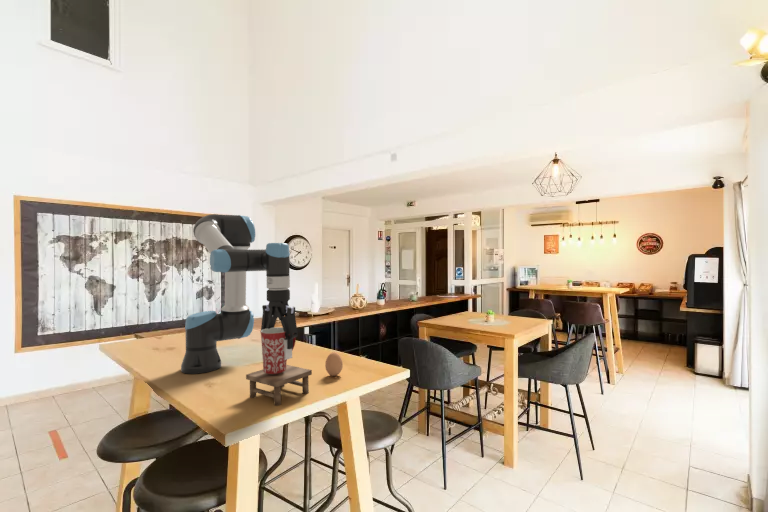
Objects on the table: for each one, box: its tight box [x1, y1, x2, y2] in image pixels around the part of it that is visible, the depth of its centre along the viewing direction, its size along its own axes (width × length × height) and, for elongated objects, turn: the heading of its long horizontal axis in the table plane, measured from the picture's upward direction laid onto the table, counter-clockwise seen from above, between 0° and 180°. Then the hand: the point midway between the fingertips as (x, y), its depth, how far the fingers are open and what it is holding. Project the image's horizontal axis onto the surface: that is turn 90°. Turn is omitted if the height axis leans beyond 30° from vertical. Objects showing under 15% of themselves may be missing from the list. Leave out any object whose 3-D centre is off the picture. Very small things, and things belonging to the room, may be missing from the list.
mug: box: [259, 326, 297, 374], centre depth 126 cm, size 13×9×14 cm
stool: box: [245, 364, 313, 406], centre depth 126 cm, size 15×15×8 cm
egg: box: [325, 351, 344, 377], centre depth 146 cm, size 7×7×9 cm
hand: (279, 356), depth 127 cm, fingers closed on mug, 8 cm apart
